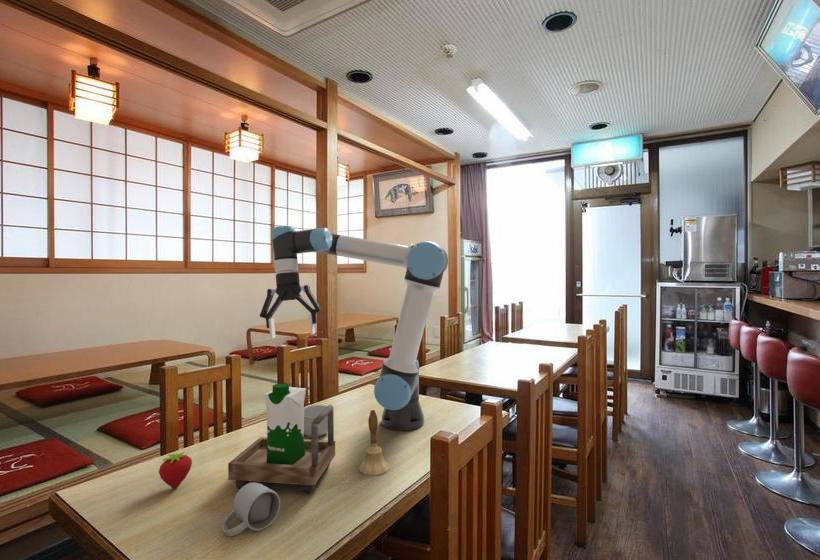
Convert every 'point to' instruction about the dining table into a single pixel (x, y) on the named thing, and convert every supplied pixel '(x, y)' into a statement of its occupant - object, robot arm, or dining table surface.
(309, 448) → the walnut cart
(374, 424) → the hand bell
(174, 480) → the strawberry
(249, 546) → the dining table surface
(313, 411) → the teacup
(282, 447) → the soya milk
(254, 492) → the ceramic mug
